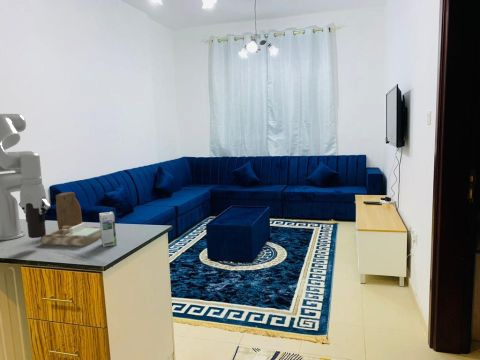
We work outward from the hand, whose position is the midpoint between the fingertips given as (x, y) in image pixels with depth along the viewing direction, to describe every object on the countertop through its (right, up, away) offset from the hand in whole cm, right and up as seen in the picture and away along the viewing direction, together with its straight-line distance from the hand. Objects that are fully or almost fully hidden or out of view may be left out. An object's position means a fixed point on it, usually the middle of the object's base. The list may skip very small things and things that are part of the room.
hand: (35, 221), depth 163 cm
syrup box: (+31, -11, +4) cm, 33 cm away
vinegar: (0, -7, +1) cm, 7 cm away
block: (+2, -8, +29) cm, 31 cm away
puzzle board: (+11, -10, +12) cm, 19 cm away
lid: (+17, -7, +10) cm, 21 cm away
